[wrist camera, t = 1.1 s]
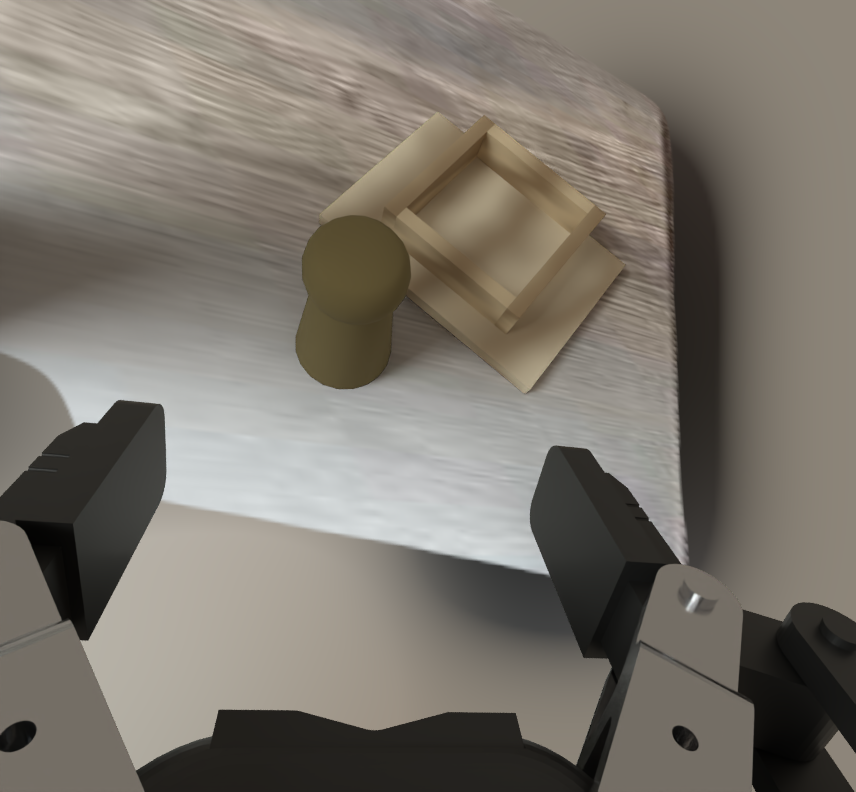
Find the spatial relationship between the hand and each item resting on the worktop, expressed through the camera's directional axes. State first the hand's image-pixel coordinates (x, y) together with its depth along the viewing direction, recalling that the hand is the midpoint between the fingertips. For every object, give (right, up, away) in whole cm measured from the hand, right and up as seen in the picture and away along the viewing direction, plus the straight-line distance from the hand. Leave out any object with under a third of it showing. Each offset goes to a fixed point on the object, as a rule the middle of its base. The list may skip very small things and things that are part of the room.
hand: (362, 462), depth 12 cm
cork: (-4, +5, +24) cm, 24 cm away
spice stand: (+5, +12, +28) cm, 31 cm away
